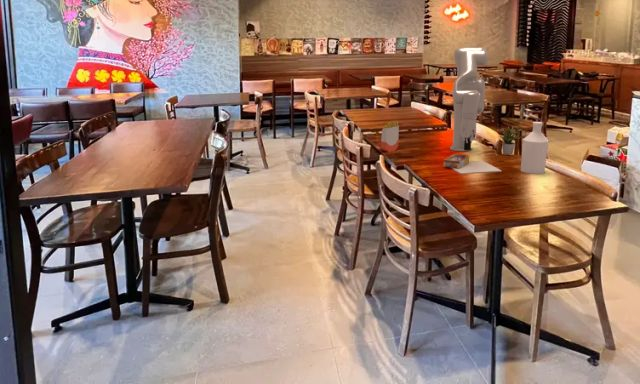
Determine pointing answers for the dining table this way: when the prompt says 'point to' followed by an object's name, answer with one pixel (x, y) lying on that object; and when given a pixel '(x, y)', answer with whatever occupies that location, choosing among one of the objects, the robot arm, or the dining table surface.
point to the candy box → (456, 161)
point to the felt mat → (476, 168)
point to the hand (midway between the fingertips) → (467, 149)
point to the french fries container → (390, 137)
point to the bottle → (534, 151)
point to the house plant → (508, 141)
